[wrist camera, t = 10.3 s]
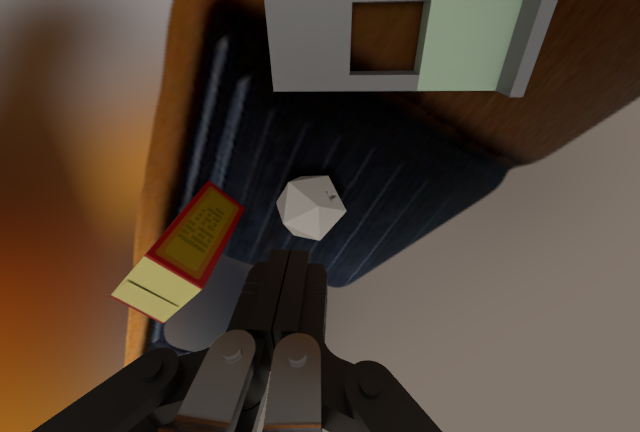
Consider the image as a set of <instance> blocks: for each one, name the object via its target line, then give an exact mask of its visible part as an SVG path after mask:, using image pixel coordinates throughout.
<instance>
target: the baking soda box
mask: <svg viewBox="0 0 640 432" xmlns="http://www.w3.org/2000/svg"><path fill="white" fill-rule="evenodd" d="M244 210H245V208H244V207H243V206H241V205H240V204H239V203H237V202H236V201H235V200H234V199H232V198H231V197H230V196H228V195H227V194H226V193H224V192H223V191H222V190H221V189H219V188H218V187H217V186H215V185H214V184H213V183H211V182H210V181H209V180H208V181H207V183H206V184H205V185H204V186H203V187H202V188H201V190H200V191H199V192H198V193H197V194H196V195H195V197H194V198H193V199H192V200H191V201H190V202H189V204H188V205H187V206H186V207H185V208H184V210H183V211H182V212H181V213H180V214H179V215H178V217H177V218H176V219H175V220H174V221H173V222H172V224H171V225H170V226H169V227H168V228H167V230H166V231H165V232H164V233H163V234H162V235H161V237H160V238H159V239H158V240H157V241H156V242H155V244H154V245H153V246H152V247H151V248H150V250H149V251H148V252H147V253H146V254H145V255H144V257H143V258H142V259H141V260H140V261H139V262H138V264H137V265H136V266H135V267H134V268H133V270H132V271H131V272H130V273H129V274H128V275H127V277H126V278H125V279H124V280H123V281H122V283H121V284H120V285H119V286H118V288H116V290H115V291H114V292H113V293H112V294H111V295H110V297H112V298H114V299H116V300H118V301H120V302H121V303H123V304H125V305H127V306H129V307H131V308H133V309H135V310H137V311H139V312H141V313H142V314H144V315H146V316H148V317H150V318H152V319H154V320H156V321H158V322H160V323H162V324H163V323H164V322H165V321H166V320H167V319H169V318H170V317H171V316H172V315H173V314H174V313H176V312H177V311H178V310H179V309H180V308H181V307H182V306H184V305H185V304H186V303H187V302H188V301H189V300H190V299H192V298H193V297H194V296H195V295H196V294H197V293H198V292H200V291H201V290H202V289H203V288H204V286H205V284H206V282H207V280H208V278H209V277H210V275H211V272H212V271H213V269H214V267H215V265H216V263H217V261H218V259H219V257H220V256H221V254H222V252H223V250H224V248H225V246H226V244H227V242H228V240H229V238H230V237H231V235H232V233H233V231H234V229H235V227H236V225H237V223H238V221H239V219H240V218H241V216H242V214H243V212H244Z"/></svg>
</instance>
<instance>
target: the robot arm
mask: <svg viewBox="0 0 640 432" xmlns="http://www.w3.org/2000/svg"><path fill="white" fill-rule="evenodd" d="M326 311H327V273H326V270H325V268H324V266H323V264H313V263H311V253H310V250H289V249H272V250H271V252H270V256H269V259H268V262H257V263H256V264H255V265H254V267H253V268H252V269H251V270H250V271H249V273H248V276H247V278H246V281H245V284H244V286H243V289H242V293H241V294H240V297H239V299H238V302H237V305H236V307H235V310H234V313H233V315H232V318H231V321H230V323H229V326H228V328H227V330H226V332H225V333H224V334H222V335H220V336H219V337H218V338H217V339H216V340H215V341H214V342H213V343H212V345H211V346H210V347H209V348H207V349H204V350H201V351H197V352H193V353H190V354H186V355H182V356H178V355H177V354H176V352H175V351H174V350H172V349H169V348H157V349H153V350H151V351H149V352H147V353H145V354H143V355H142V356H140V357H139V358H137V359H136V360H135V361H133V362H132V363H130V364H129V365H127V366H126V367H124V368H123V369H122V370H120V371H119V372H117V373H116V374H114V375H113V376H112V377H110V378H108V379H107V380H106V381H104V382H103V383H101V384H100V385H98V386H97V387H95V388H94V389H93V390H91V391H90V392H88V393H87V394H85V395H84V396H83V397H81V398H80V399H78V400H77V401H75V402H74V403H72V404H71V405H70V406H68V407H67V408H65V409H64V410H62V411H61V412H59V413H58V414H56V415H55V416H54V417H52V418H51V419H49V420H48V421H46V422H45V423H43V424H42V425H40V426H39V427H38V428H36V429H35V430H33V431H32V432H257V428H258V425H259V421H260V417H261V414H262V410H263V407H264V403H265V399H266V394H267V388H266V387H267V382H268V378H269V373H270V371H271V375H270V382H269V389H268V397H267V404H266V412H265V419H264V426H263V431H262V432H322V428H323V429H325V430H327V431H329V432H442V431H441V430H440V429H439V428H438V426H437V425H436V424H435V423H434V422H433V421H432V420H431V418H430V417H429V416H428V415H427V414H426V413H425V411H424V410H423V409H422V408H421V407H420V406H419V405H418V403H417V402H416V401H415V400H414V399H413V398H412V397H411V396H410V394H409V393H408V392H407V391H406V390H405V389H404V387H403V386H402V385H401V384H400V383H399V382H398V381H397V379H396V378H395V377H394V376H393V375H392V374H391V373H390V371H389V370H388V369H387V368H386V367H384V366H383V365H381V364H379V363H377V362H374V361H360V362H358V363H356V364H352V363H350V362H348V361H345V360H343V359H340V358H338V357H337V356H335V355H334V354H333V353H332V352H330V350H329V349H328V348H327V346H326V344H325V329H326Z"/></svg>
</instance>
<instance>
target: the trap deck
mask: <svg viewBox="0 0 640 432" xmlns="http://www.w3.org/2000/svg"><path fill="white" fill-rule="evenodd" d="M264 1H265V11H266V21H267V30H268V40H269V50H270V60H271V70H272V80H273V90H274V91H497V92H500V93H502V94H504V95H506V96H508V97H523V95H524V93H525V90H526V87H527V84H528V82H529V79H530V76H531V73H532V70H533V68H534V65H535V62H536V59H537V57H538V54H539V51H540V48H541V46H542V43H543V40H544V37H545V34H546V32H547V29H548V26H549V23H550V21H551V18H552V15H553V12H554V9H555V7H556V4H557V1H558V0H264ZM398 2H424V4H423V11H422V18H421V24H420V31H419V38H418V44H417V51H416V58H415V64H414V71H350V48H351V21H352V4H357V3H398Z"/></svg>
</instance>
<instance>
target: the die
mask: <svg viewBox="0 0 640 432" xmlns="http://www.w3.org/2000/svg"><path fill="white" fill-rule="evenodd" d="M276 204H277V207H278V210H279V213H280V216H281V219H282V222H283V224H284V225H285V226H286V227H287V228H288V229H289V230H290V232H291V233H292V234H293V235H295V236H300V237H305V238H310V239H314V240H319V241H320V240H321V239H322V238H323V237H324V236H325V234H326V233H327V232H328V231H329V230H330V229H331V228H332V227H333V226H334V224H335V223H336V222H337V221H338V220H339V219H340V218H341V217H342V216H343V215H344V213H345V212H346V209H345V207H344V205H343V203H342V201H341V199H340V197H339V196H338V194H337V192H336V190H335V188H334V186H333V184H332V182H331V180H330V178H329V176H301V177H299V178H297V179H294V180H292V181H290V182H288V184H287V186H286V187H285V189H284V191H283V192H282V194H281V196H280V197H279V199H278V201H277V202H276Z"/></svg>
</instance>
